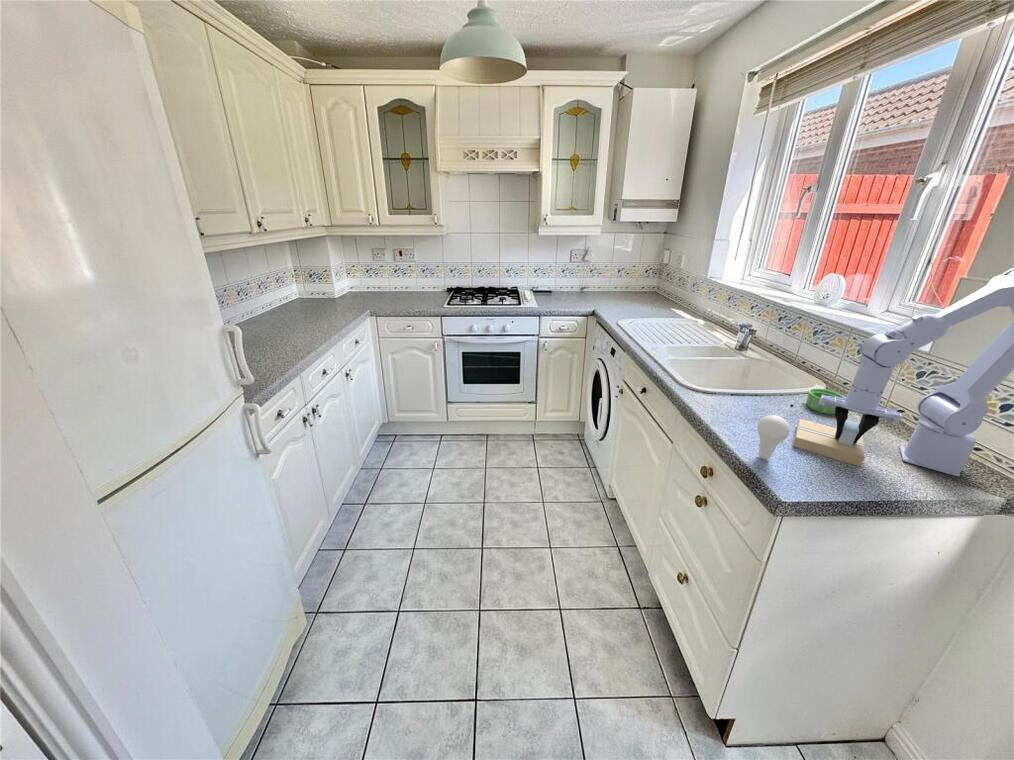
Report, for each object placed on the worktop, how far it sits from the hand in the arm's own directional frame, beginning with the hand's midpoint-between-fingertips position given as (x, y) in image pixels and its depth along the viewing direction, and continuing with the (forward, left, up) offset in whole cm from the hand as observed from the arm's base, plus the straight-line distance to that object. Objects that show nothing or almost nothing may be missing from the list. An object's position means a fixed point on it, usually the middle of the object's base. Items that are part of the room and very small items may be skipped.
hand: (845, 439), depth 98 cm
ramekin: (+5, -25, -3) cm, 26 cm away
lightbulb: (+15, +17, -3) cm, 23 cm away
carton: (+3, 0, -3) cm, 4 cm away
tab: (0, 0, 0) cm, 0 cm away
